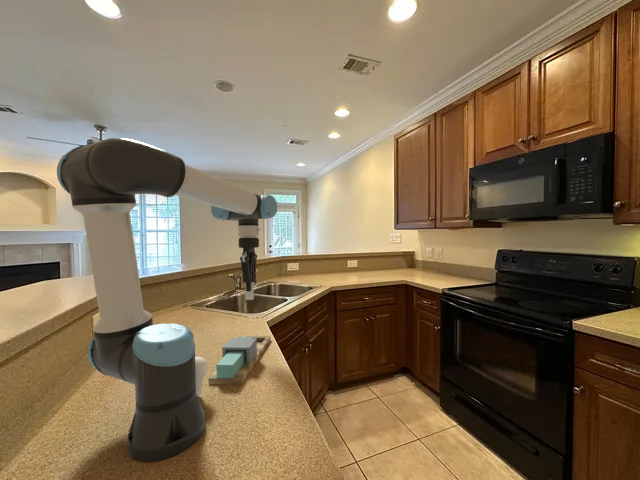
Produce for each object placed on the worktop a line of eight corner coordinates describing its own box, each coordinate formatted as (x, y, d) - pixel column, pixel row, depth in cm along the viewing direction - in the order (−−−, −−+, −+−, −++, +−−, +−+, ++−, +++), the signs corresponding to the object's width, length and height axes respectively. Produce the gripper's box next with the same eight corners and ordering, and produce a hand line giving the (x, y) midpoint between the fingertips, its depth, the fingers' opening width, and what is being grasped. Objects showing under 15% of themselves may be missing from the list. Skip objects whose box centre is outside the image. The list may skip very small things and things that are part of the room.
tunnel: (249, 364, 92) (249, 347, 92) (222, 364, 93) (222, 347, 92) (256, 354, 100) (256, 338, 100) (232, 353, 101) (231, 338, 100)
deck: (241, 384, 83) (241, 379, 83) (208, 383, 84) (208, 378, 84) (270, 340, 117) (270, 336, 117) (246, 340, 118) (246, 336, 118)
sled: (233, 378, 83) (232, 361, 83) (216, 378, 84) (216, 360, 83) (253, 351, 102) (252, 337, 102) (239, 351, 103) (239, 336, 102)
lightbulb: (212, 397, 77) (211, 357, 77) (189, 407, 72) (188, 365, 72) (202, 388, 81) (201, 351, 81) (180, 398, 77) (178, 358, 76)
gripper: (253, 237, 100) (254, 303, 101) (263, 237, 113) (264, 295, 114) (232, 237, 101) (233, 303, 101) (244, 237, 114) (245, 295, 114)
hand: (249, 299), depth 107 cm, fingers closed
